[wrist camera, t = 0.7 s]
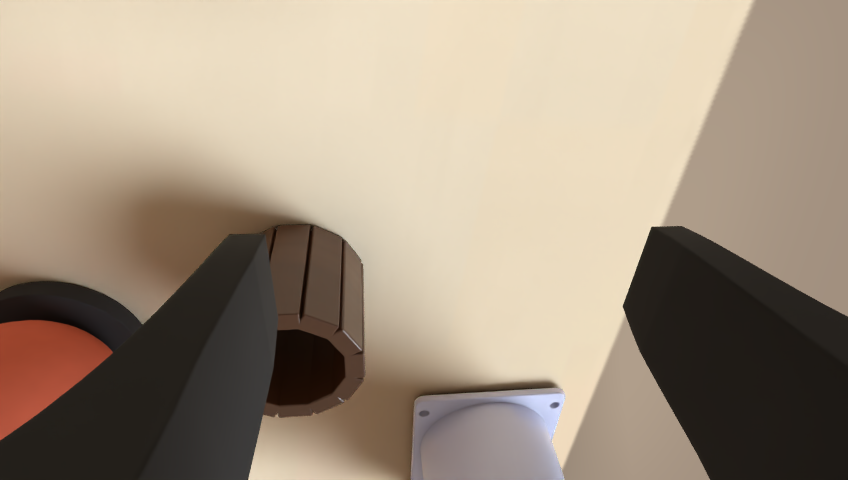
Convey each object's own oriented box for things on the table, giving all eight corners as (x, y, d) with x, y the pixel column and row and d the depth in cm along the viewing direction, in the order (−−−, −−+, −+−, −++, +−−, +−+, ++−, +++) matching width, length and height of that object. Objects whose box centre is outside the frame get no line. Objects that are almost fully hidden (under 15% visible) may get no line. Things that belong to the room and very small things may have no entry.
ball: (174, 386, 25) (116, 552, 19) (14, 395, 24) (-97, 570, 18) (132, 272, 21) (42, 437, 15) (-61, 278, 20) (-237, 455, 14)
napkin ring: (364, 318, 24) (366, 412, 20) (245, 323, 23) (222, 421, 19) (361, 222, 21) (363, 311, 17) (224, 226, 20) (191, 318, 16)
